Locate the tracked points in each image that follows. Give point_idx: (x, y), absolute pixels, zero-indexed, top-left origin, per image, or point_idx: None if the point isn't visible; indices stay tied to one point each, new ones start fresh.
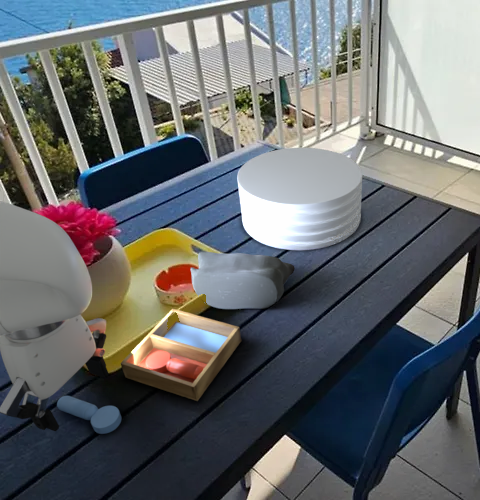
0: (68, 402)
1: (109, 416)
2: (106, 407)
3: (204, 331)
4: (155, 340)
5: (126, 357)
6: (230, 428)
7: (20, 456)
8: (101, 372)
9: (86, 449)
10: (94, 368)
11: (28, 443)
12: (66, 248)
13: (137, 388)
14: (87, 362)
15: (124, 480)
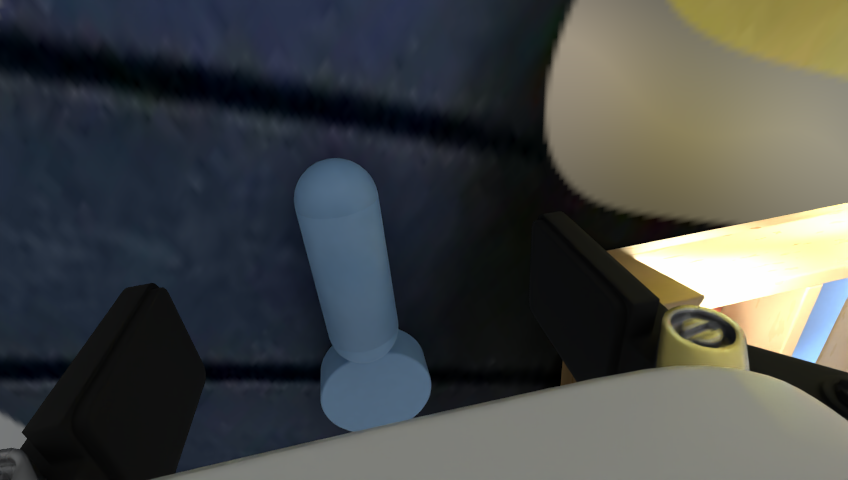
0: (336, 261)
1: (386, 406)
2: (412, 370)
3: (824, 337)
4: (781, 299)
5: (667, 306)
6: None
7: (17, 233)
8: (547, 327)
9: (252, 397)
10: (558, 304)
11: (83, 200)
12: None
13: (538, 329)
14: (582, 294)
15: None
